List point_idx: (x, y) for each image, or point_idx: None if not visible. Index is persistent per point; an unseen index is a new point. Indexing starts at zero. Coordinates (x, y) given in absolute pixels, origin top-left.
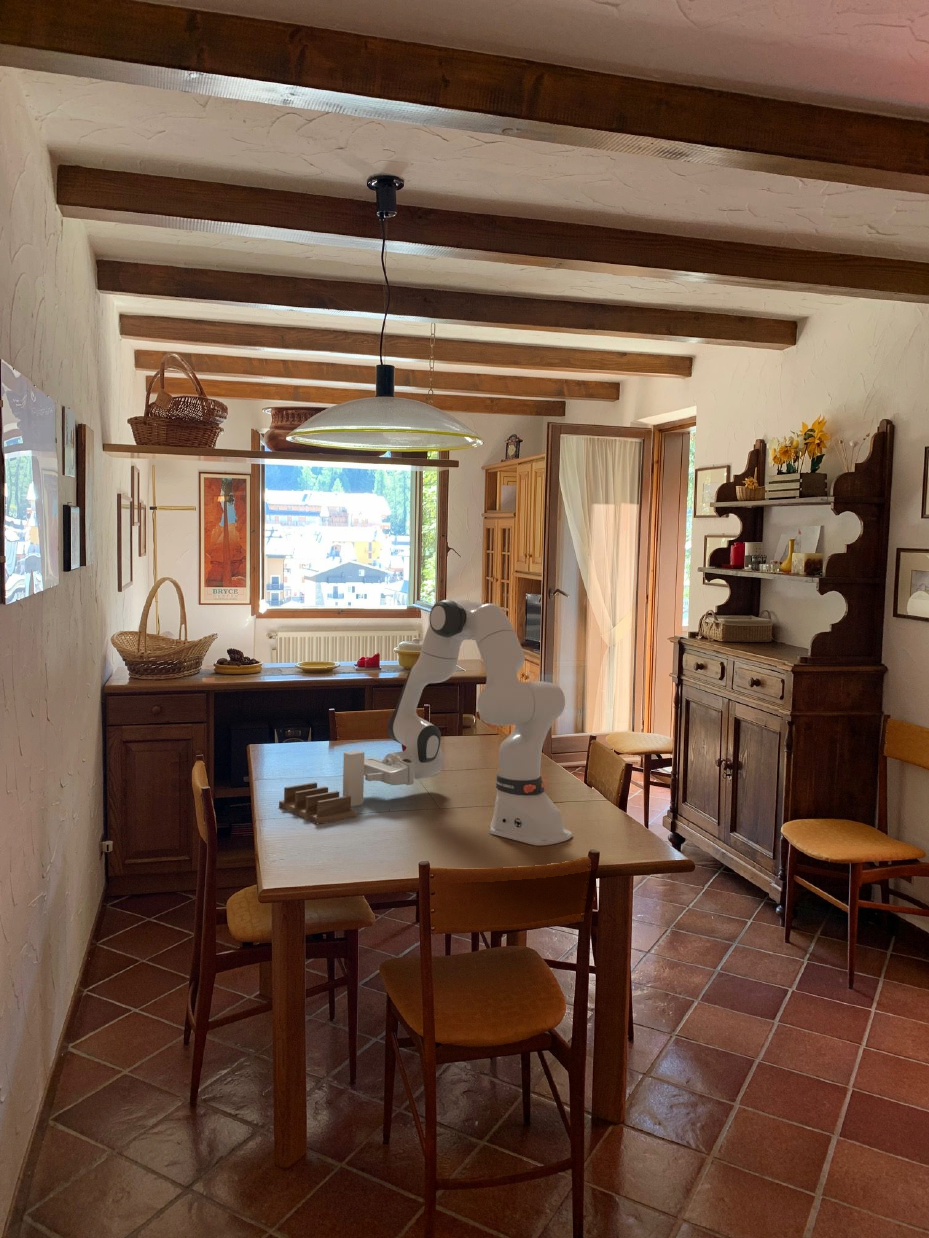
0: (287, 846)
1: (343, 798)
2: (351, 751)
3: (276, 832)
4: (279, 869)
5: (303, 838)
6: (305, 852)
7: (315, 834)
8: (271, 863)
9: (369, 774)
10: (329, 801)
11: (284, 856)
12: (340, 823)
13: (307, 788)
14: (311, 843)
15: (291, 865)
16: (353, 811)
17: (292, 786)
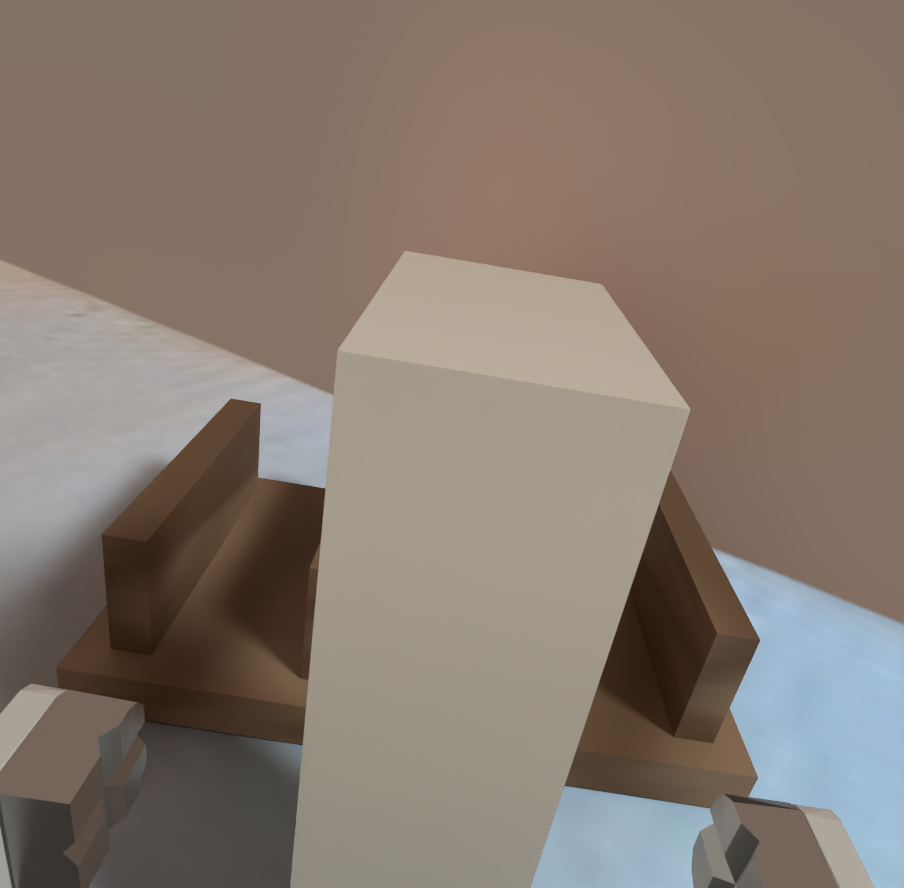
0: (138, 355)
1: (144, 497)
2: (632, 332)
3: (292, 402)
4: (33, 290)
5: (138, 398)
6: (31, 344)
7: (119, 430)
8: (87, 301)
9: (35, 716)
10: (200, 437)
11: (84, 323)
12: (90, 558)
13: (675, 591)
14: (64, 382)
15: (13, 302)
16: (73, 652)
17: (675, 499)
